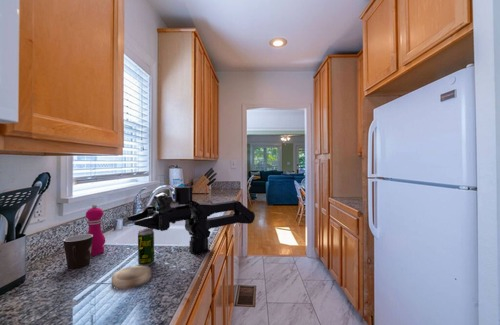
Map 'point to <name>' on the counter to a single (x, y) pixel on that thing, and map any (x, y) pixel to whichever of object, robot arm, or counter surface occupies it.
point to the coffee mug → (78, 250)
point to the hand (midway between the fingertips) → (130, 220)
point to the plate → (131, 277)
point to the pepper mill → (95, 229)
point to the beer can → (145, 247)
